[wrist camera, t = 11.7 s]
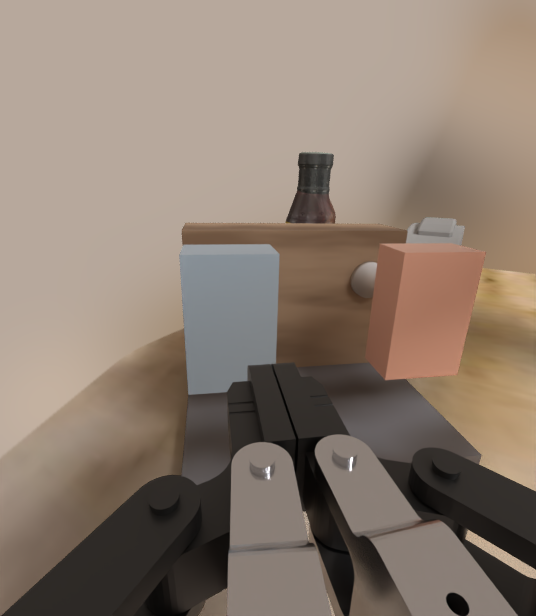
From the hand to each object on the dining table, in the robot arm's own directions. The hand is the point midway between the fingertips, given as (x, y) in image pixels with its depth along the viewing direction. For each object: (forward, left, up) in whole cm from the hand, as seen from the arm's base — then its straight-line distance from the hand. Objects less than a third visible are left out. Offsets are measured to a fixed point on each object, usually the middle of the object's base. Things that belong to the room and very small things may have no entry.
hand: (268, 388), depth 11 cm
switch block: (-13, -7, -10) cm, 18 cm away
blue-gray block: (-6, -9, -5) cm, 12 cm away
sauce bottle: (-30, -19, -10) cm, 37 cm away
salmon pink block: (-16, -1, -5) cm, 16 cm away
